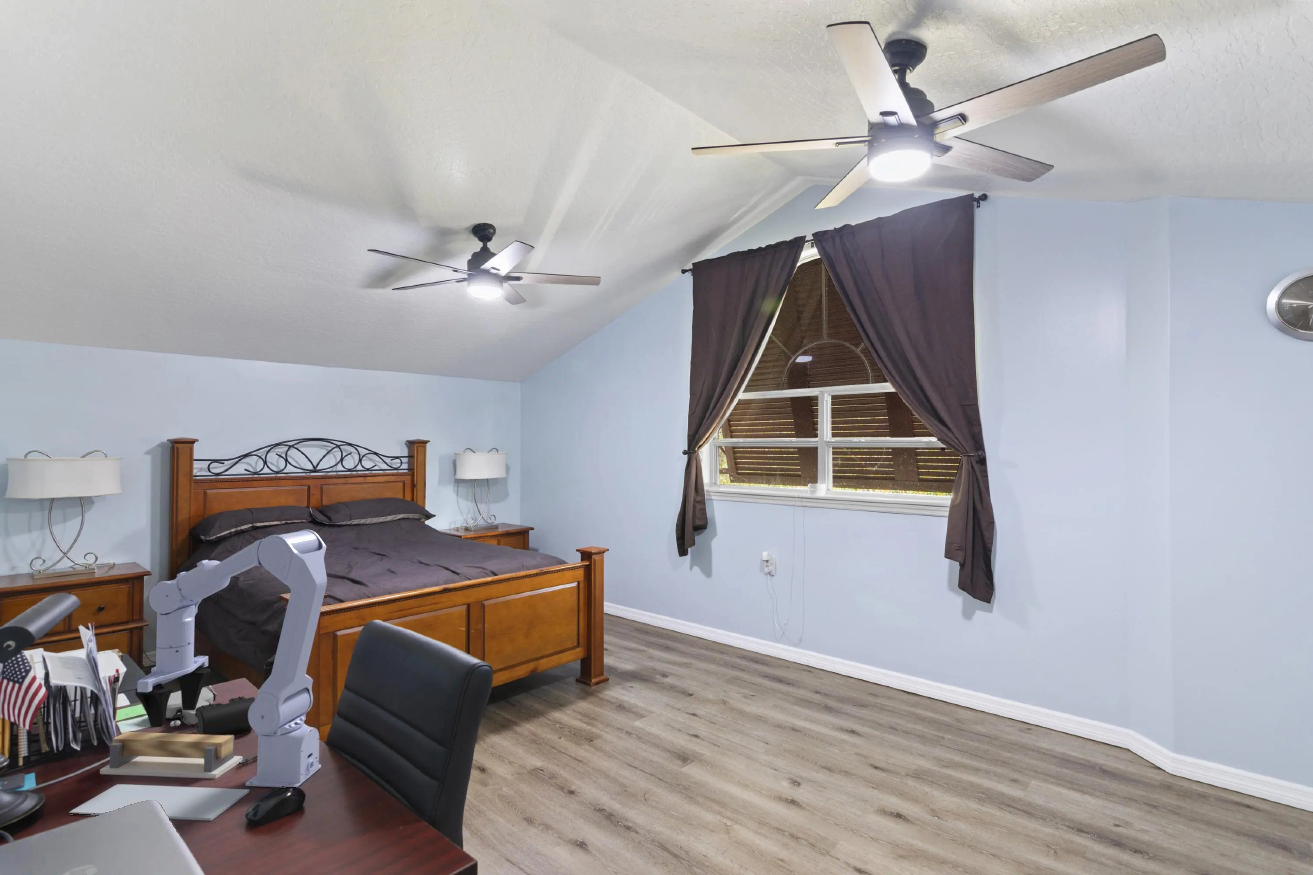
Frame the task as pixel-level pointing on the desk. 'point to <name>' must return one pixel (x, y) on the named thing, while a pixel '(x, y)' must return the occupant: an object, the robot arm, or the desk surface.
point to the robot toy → (187, 716)
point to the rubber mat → (166, 800)
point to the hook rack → (170, 764)
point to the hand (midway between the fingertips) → (173, 717)
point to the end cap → (224, 717)
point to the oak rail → (173, 744)
